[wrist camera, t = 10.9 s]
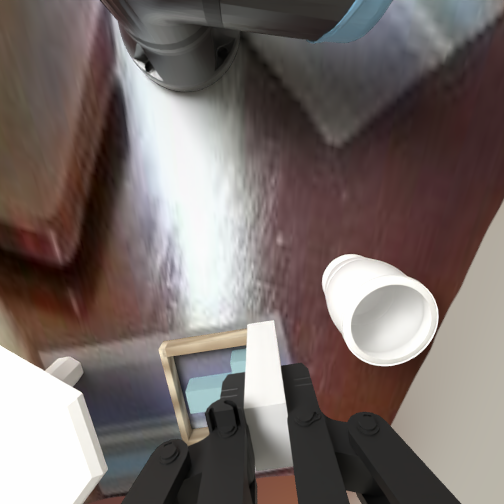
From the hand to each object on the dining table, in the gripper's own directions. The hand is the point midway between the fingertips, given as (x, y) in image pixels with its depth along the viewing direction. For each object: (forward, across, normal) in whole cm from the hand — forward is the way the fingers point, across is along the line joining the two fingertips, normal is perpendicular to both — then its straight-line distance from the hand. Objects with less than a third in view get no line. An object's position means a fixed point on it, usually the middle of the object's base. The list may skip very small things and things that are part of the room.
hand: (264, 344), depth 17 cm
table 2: (+30, -35, -16) cm, 49 cm away
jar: (+30, +13, -8) cm, 33 cm away
